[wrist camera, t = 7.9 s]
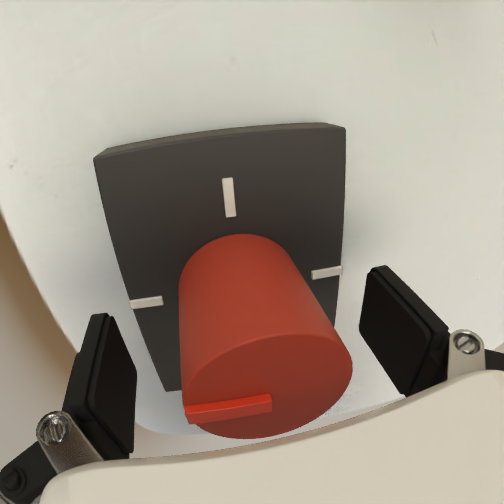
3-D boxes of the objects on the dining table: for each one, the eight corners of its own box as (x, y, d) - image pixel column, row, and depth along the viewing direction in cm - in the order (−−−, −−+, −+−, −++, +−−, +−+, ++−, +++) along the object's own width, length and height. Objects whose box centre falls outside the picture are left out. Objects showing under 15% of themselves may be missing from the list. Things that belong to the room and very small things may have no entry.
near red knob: (296, 225, 12) (372, 322, 7) (294, 322, 14) (342, 425, 9) (168, 242, 11) (162, 361, 6) (189, 339, 14) (201, 455, 8)
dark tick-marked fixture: (317, 338, 18) (331, 363, 16) (165, 365, 17) (165, 394, 15) (324, 122, 12) (348, 127, 10) (105, 148, 11) (90, 158, 9)
